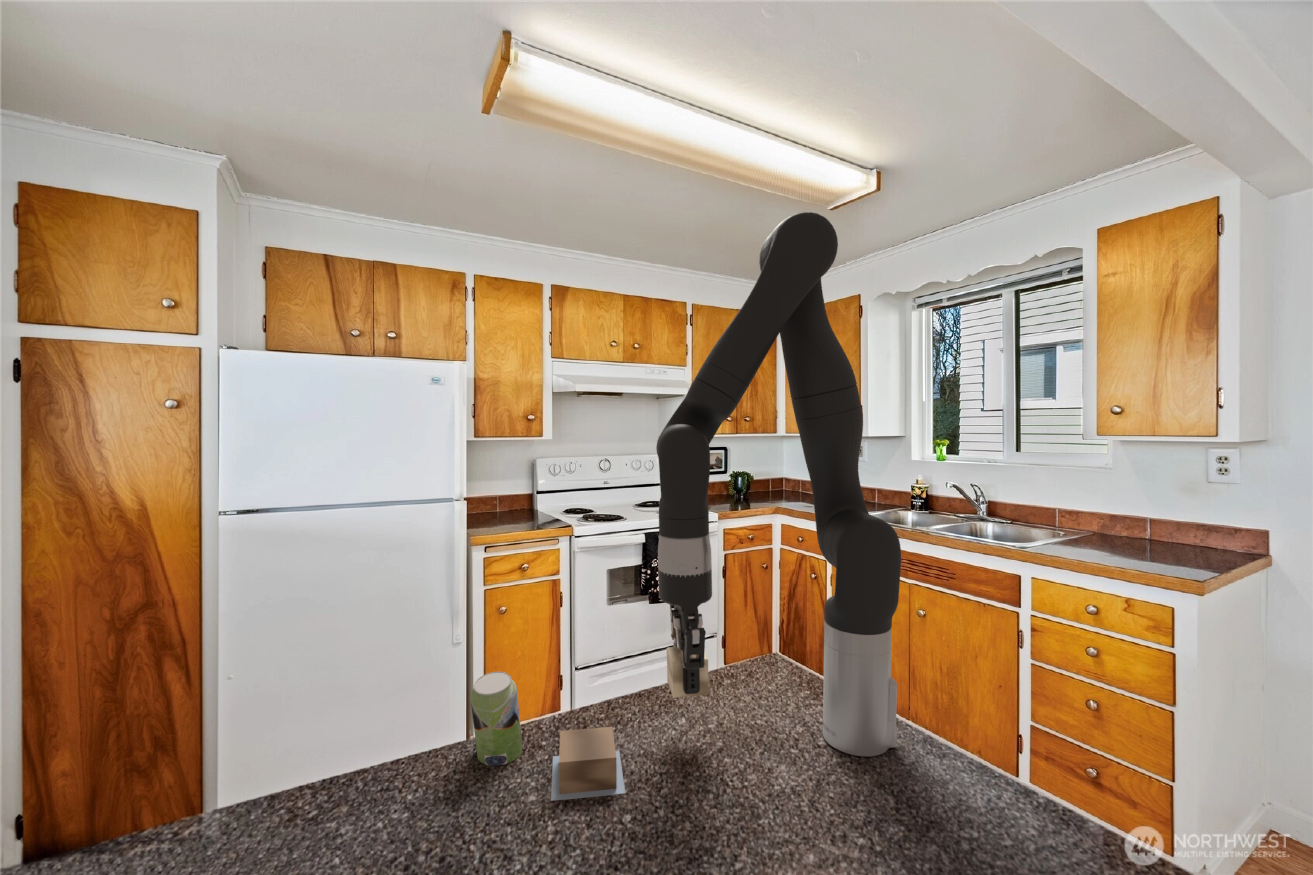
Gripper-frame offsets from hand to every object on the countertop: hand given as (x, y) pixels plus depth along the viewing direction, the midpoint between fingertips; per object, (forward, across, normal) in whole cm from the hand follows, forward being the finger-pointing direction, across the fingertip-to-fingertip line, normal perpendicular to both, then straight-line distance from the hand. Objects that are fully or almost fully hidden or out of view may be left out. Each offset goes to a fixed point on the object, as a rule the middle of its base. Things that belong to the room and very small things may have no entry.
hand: (687, 682), depth 83 cm
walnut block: (+8, -6, +15) cm, 18 cm away
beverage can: (+9, 0, +27) cm, 28 cm away
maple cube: (+1, 0, 0) cm, 1 cm away
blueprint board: (+9, -6, +14) cm, 17 cm away
